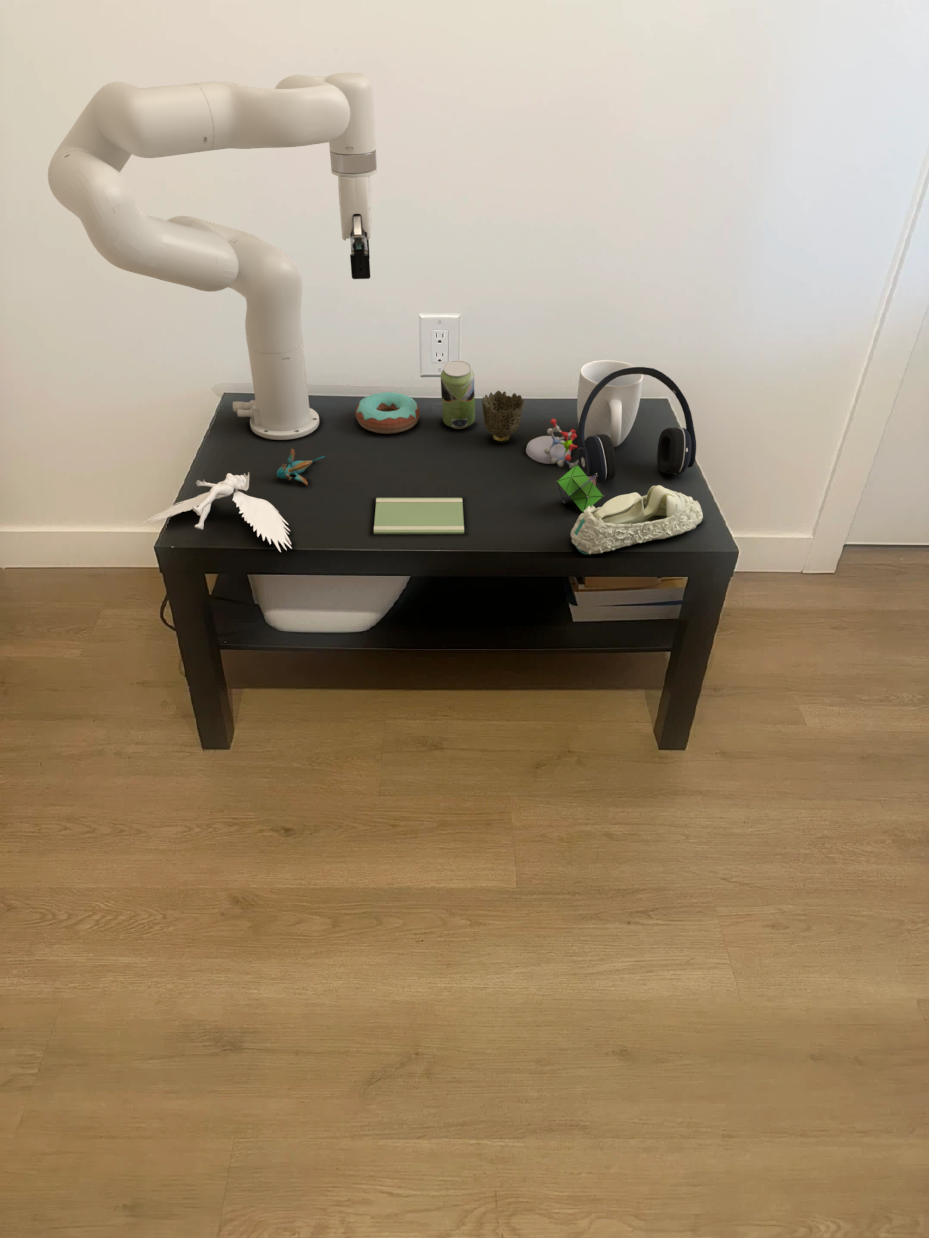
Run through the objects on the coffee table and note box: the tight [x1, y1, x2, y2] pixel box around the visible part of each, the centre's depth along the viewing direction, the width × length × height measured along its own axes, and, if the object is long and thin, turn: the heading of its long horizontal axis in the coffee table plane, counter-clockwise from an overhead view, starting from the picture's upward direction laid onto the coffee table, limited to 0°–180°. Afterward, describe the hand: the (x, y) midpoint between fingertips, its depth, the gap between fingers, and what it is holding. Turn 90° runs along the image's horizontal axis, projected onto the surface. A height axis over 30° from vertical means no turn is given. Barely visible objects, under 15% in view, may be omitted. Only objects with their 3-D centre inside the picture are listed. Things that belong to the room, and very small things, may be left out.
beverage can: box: [440, 360, 476, 430], centre depth 158 cm, size 6×7×12 cm
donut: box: [355, 391, 421, 435], centre depth 161 cm, size 12×12×4 cm
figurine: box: [137, 472, 293, 553], centre depth 132 cm, size 12×25×14 cm
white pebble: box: [525, 435, 572, 465], centre depth 154 cm, size 8×8×2 cm
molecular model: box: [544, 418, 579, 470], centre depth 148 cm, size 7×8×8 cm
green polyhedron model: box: [556, 463, 605, 514], centre depth 139 cm, size 7×7×8 cm
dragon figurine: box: [276, 448, 326, 487], centre depth 147 cm, size 7×7×8 cm
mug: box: [576, 359, 644, 448], centre depth 153 cm, size 15×11×13 cm
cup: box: [481, 390, 525, 445], centre depth 155 cm, size 8×7×8 cm
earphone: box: [576, 366, 697, 484], centre depth 146 cm, size 20×7×18 cm
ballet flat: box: [570, 484, 704, 556], centre depth 133 cm, size 9×24×8 cm, turn 120°
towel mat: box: [373, 497, 465, 535], centre depth 138 cm, size 14×10×1 cm
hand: (361, 268), depth 153 cm, fingers open, 9 cm apart
